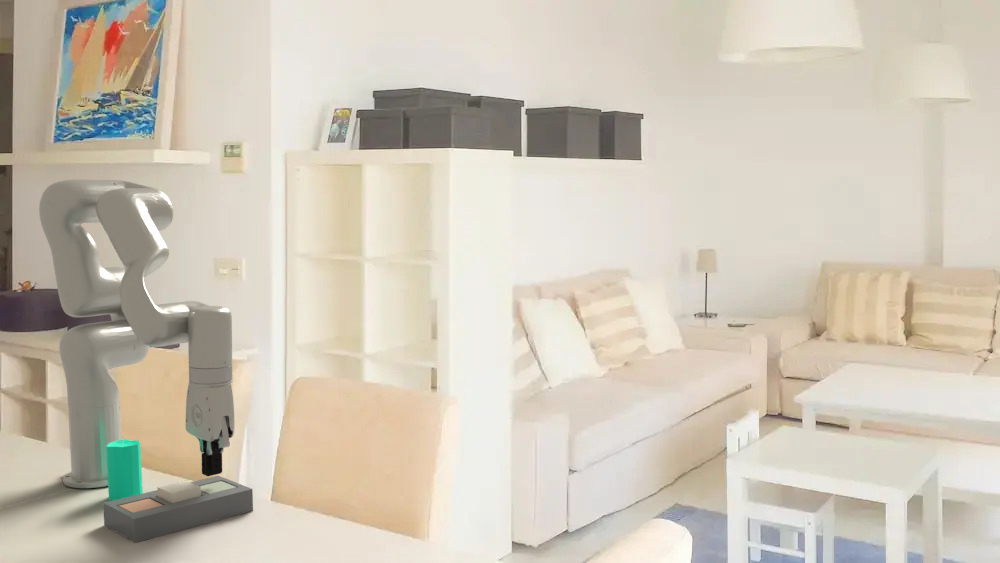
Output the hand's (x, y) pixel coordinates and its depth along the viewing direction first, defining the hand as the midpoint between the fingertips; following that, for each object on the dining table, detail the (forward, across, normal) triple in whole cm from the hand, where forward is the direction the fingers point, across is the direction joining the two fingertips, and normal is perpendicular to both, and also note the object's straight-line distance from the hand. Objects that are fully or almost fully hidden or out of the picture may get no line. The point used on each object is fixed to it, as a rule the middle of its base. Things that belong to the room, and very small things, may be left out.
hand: (212, 473), depth 175 cm
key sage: (+6, +1, 0) cm, 6 cm away
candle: (+7, -18, -8) cm, 21 cm away
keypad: (+6, +1, -7) cm, 9 cm away
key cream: (+4, +1, -7) cm, 8 cm away
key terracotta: (+6, +1, -14) cm, 15 cm away
